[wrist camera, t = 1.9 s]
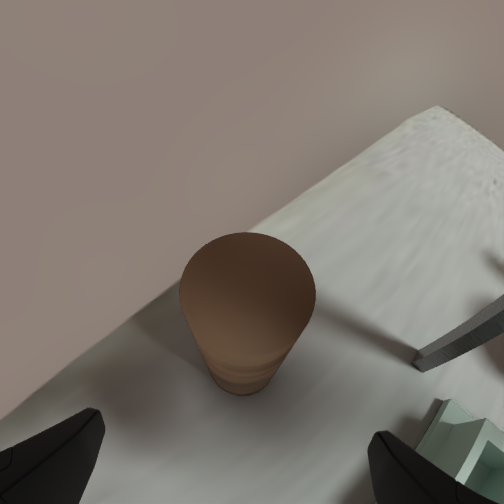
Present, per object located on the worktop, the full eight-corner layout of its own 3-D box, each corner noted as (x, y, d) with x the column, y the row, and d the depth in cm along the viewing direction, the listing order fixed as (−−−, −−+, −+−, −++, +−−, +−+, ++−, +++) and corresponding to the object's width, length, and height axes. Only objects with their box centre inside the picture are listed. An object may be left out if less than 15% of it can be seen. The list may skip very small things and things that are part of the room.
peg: (251, 407, 18) (271, 383, 8) (198, 372, 20) (152, 303, 9) (284, 356, 20) (336, 271, 10) (233, 325, 22) (230, 213, 11)
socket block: (441, 560, 9) (474, 572, 5) (356, 523, 13) (386, 542, 9) (508, 454, 14) (545, 448, 10) (443, 400, 18) (482, 388, 14)
